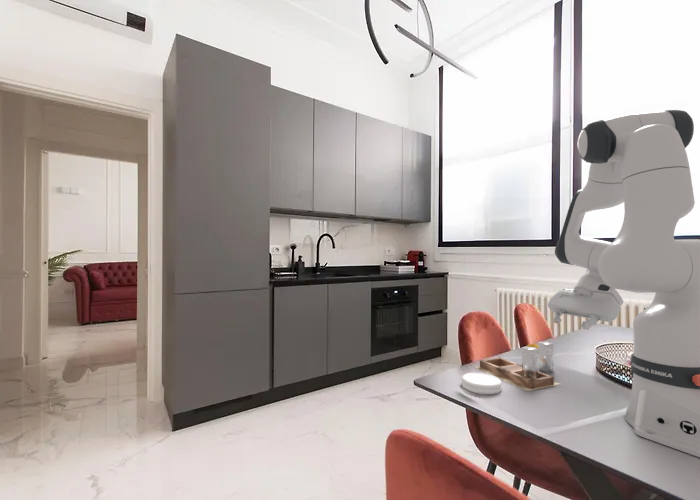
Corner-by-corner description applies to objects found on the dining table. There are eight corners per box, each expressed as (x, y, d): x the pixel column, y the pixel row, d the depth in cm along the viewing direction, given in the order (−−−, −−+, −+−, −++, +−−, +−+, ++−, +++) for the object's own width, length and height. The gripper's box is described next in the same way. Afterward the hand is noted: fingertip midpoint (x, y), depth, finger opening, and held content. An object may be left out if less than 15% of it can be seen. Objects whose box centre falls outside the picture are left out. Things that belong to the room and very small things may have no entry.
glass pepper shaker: (557, 374, 104) (556, 344, 104) (547, 376, 103) (546, 345, 103) (545, 370, 108) (544, 341, 108) (535, 372, 107) (535, 342, 107)
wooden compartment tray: (560, 387, 95) (560, 376, 95) (527, 394, 90) (527, 383, 90) (503, 365, 113) (503, 356, 113) (473, 370, 109) (473, 360, 109)
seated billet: (541, 383, 95) (541, 349, 95) (530, 385, 94) (530, 351, 94) (529, 378, 99) (529, 346, 99) (518, 380, 98) (518, 347, 98)
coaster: (506, 400, 87) (505, 386, 87) (464, 398, 89) (463, 384, 89) (497, 385, 97) (497, 373, 97) (459, 383, 99) (459, 371, 99)
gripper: (556, 282, 122) (535, 312, 118) (619, 288, 103) (597, 324, 99) (565, 294, 123) (545, 325, 120) (629, 302, 104) (607, 338, 101)
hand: (569, 325), depth 109 cm, fingers open, 8 cm apart
